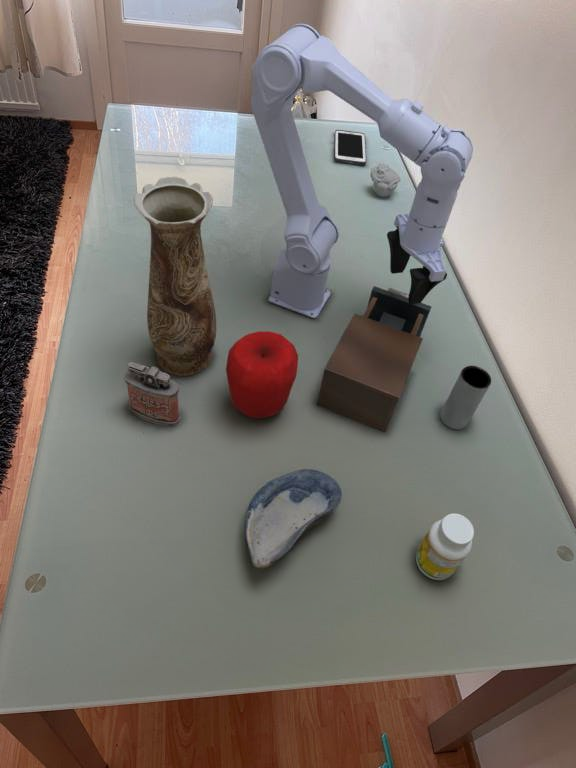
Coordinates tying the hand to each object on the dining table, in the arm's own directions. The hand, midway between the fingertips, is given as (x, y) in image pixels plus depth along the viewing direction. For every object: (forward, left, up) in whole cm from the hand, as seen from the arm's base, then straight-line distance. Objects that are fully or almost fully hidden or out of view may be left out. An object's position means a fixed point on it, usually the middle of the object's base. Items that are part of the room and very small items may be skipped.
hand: (405, 286), depth 98 cm
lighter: (-27, -35, -11) cm, 46 cm away
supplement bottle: (+18, -39, -11) cm, 44 cm away
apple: (-14, -26, -11) cm, 31 cm away
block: (0, -5, -8) cm, 10 cm away
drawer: (0, -3, -10) cm, 10 cm away
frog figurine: (-15, +42, -11) cm, 46 cm away
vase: (-29, -23, -11) cm, 39 cm away
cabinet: (0, -15, -10) cm, 18 cm away
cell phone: (-28, +57, -10) cm, 64 cm away
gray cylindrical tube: (+15, -14, -11) cm, 23 cm away
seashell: (-1, -43, -11) cm, 44 cm away
